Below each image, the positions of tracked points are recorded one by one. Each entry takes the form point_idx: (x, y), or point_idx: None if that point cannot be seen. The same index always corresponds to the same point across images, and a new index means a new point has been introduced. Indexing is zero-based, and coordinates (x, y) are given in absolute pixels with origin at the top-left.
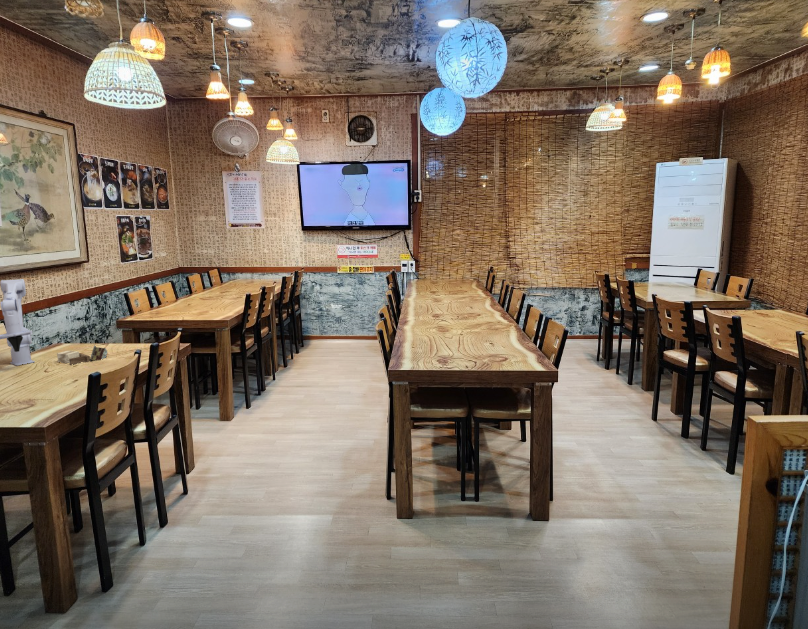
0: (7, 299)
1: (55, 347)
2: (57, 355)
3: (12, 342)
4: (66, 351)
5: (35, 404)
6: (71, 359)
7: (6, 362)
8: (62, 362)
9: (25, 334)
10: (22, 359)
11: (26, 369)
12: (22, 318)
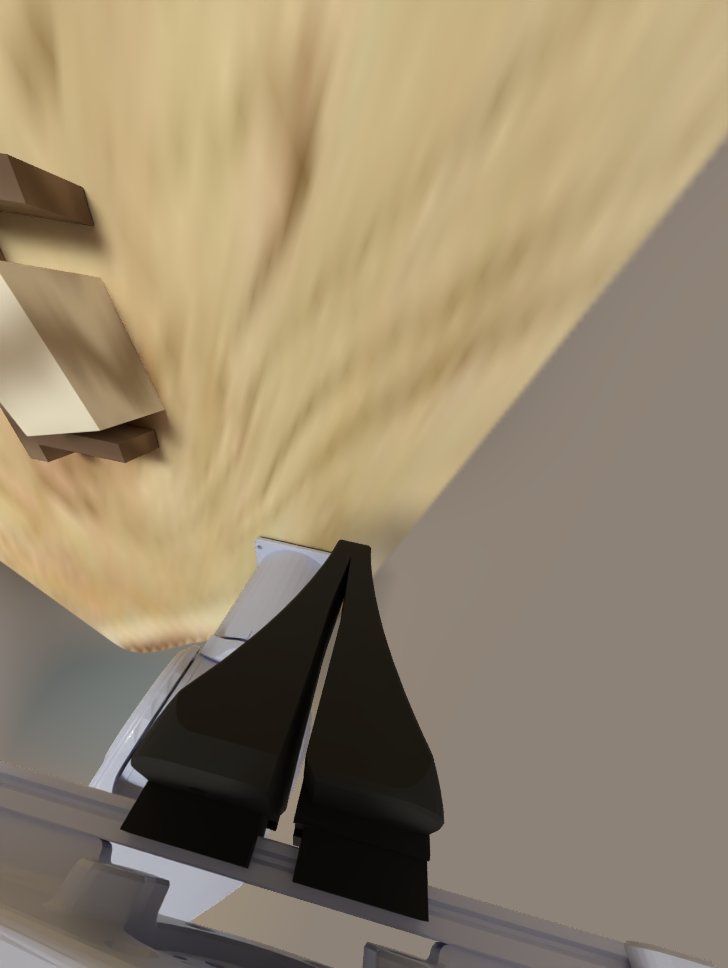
0: None
1: (147, 639)
2: (115, 421)
3: (402, 688)
4: (33, 420)
5: None
6: (3, 155)
7: None
8: (139, 364)
9: (38, 807)
10: (297, 572)
11: (350, 435)
12: None
